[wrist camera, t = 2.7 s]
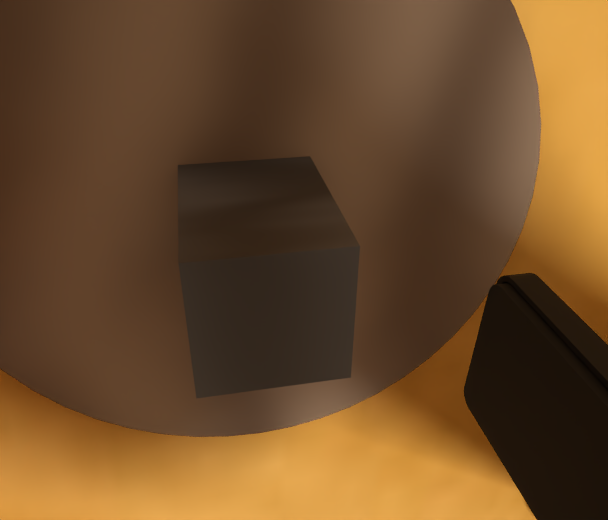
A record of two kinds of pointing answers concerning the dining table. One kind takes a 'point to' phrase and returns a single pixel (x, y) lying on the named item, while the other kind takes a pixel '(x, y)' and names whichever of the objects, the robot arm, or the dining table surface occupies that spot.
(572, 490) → the robot arm
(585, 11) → the dining table surface
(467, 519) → the dining table surface
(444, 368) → the dining table surface
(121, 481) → the dining table surface
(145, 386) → the lid
